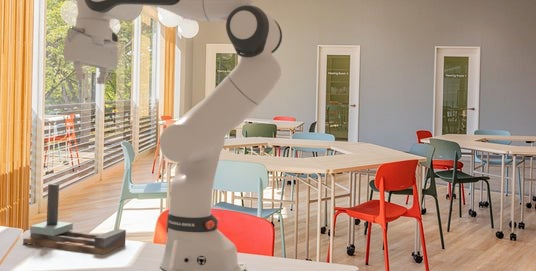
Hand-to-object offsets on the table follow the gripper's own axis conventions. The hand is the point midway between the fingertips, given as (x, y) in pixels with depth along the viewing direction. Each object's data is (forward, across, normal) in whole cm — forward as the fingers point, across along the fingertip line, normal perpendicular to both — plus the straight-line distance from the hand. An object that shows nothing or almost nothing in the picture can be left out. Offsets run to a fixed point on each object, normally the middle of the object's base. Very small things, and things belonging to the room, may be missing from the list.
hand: (91, 82), depth 150 cm
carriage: (+44, +7, +17) cm, 47 cm away
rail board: (+47, +8, +9) cm, 48 cm away
